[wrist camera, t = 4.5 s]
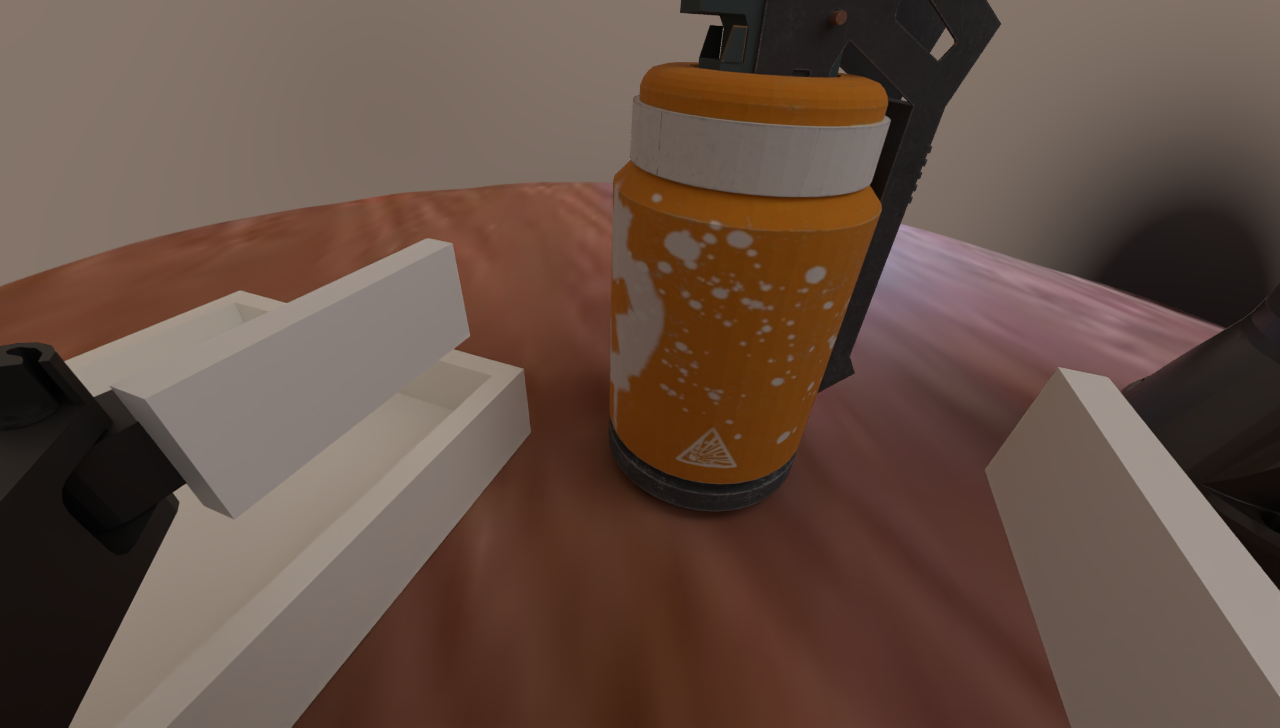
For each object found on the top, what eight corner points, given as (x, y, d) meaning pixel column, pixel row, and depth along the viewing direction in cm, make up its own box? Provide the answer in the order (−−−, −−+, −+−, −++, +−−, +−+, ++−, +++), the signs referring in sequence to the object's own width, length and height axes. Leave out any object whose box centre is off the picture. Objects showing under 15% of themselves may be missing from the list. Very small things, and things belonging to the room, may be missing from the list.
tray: (269, 350, 28) (240, 290, 26) (531, 432, 23) (523, 368, 21) (-301, 651, 14) (-481, 581, 12) (71, 998, 10) (-100, 993, 7)
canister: (599, 395, 26) (599, -98, 14) (781, 381, 28) (909, -63, 16) (623, 534, 19) (662, -219, 7) (865, 502, 21) (1198, -132, 9)
